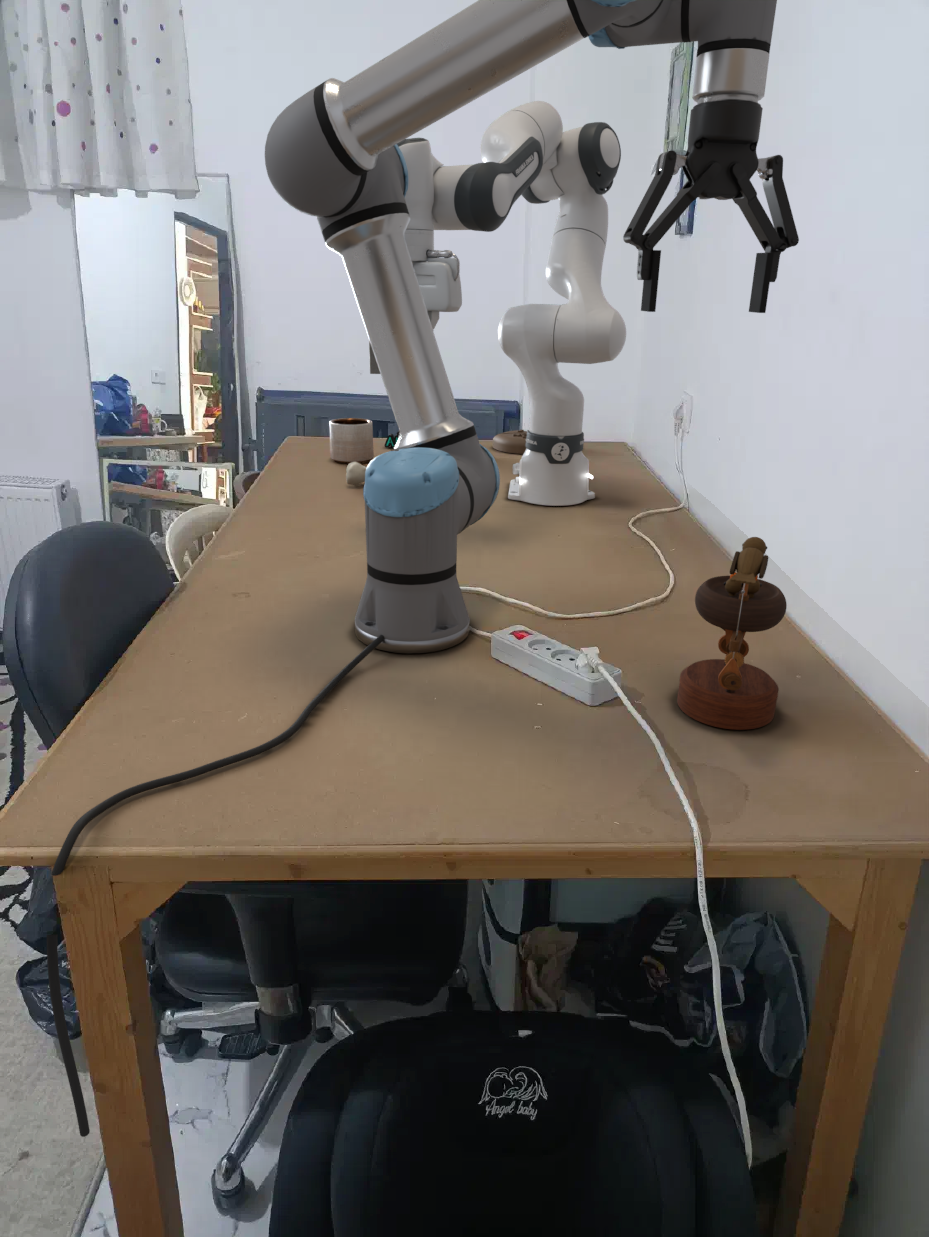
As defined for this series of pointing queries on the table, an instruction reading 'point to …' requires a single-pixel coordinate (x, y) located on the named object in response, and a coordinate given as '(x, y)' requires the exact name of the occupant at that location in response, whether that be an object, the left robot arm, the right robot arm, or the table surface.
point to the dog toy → (355, 473)
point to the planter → (351, 440)
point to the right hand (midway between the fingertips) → (408, 339)
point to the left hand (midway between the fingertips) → (702, 312)
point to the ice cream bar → (511, 441)
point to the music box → (734, 646)
